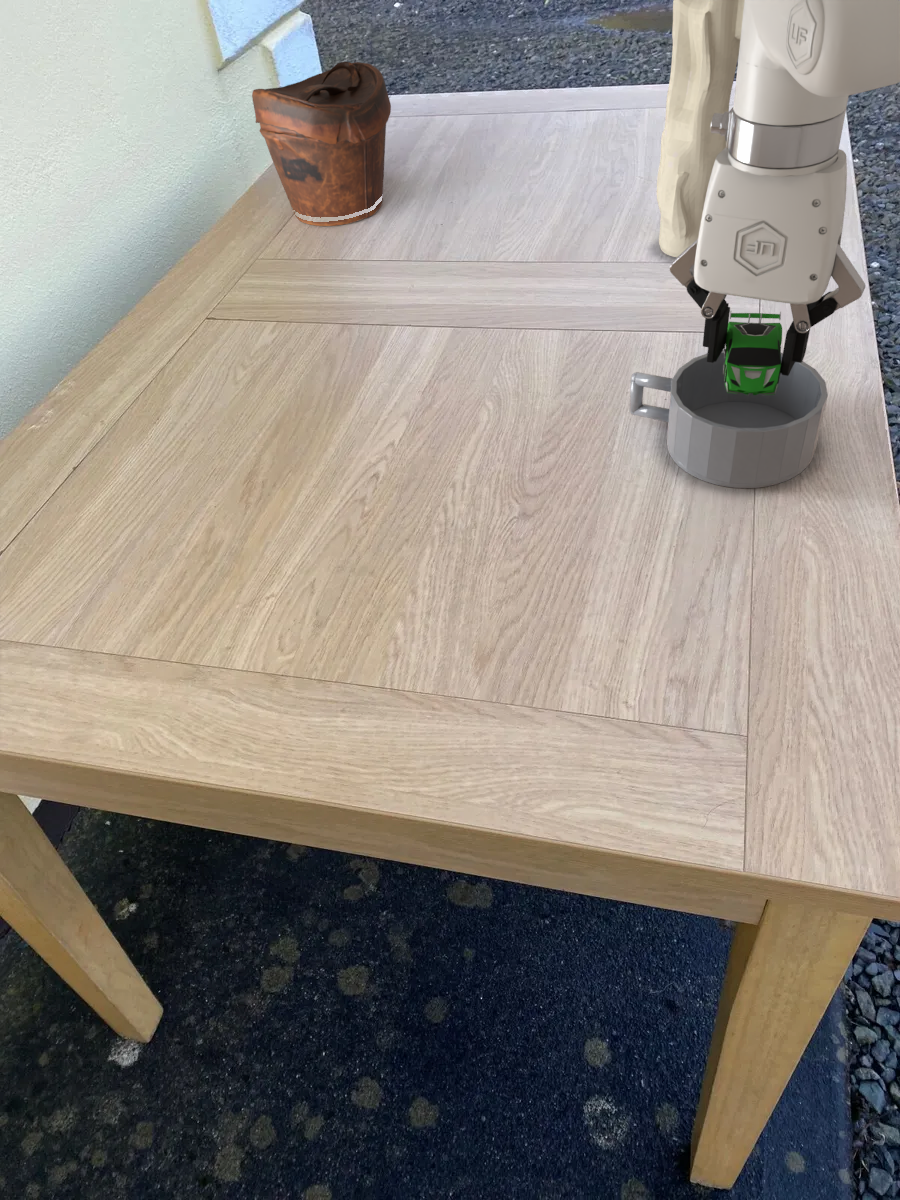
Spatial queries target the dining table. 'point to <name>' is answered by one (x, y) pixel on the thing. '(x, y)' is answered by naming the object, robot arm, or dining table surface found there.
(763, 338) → the toy car
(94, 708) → the dining table surface
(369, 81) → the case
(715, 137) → the dripping pillar candle
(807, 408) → the measuring cup
